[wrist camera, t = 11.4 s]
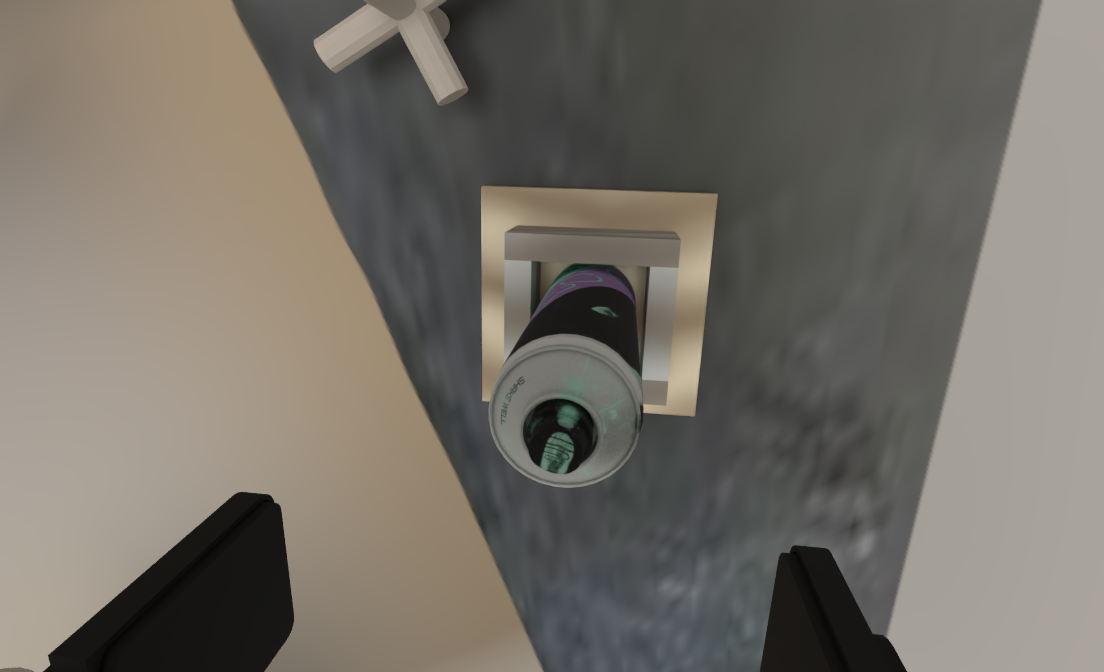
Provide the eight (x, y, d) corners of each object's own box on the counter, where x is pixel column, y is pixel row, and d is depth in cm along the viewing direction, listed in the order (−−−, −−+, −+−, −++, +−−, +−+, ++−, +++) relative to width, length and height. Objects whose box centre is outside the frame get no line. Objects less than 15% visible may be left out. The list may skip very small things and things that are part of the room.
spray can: (625, 250, 36) (625, 350, 17) (643, 335, 37) (663, 516, 18) (538, 270, 37) (445, 387, 18) (559, 352, 38) (494, 542, 19)
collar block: (485, 185, 37) (463, 188, 32) (714, 193, 36) (728, 198, 31) (486, 394, 41) (467, 426, 36) (692, 409, 40) (702, 444, 35)
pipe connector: (549, 62, 35) (519, 24, 25) (408, 146, 37) (332, 140, 27) (464, -111, 33) (398, -224, 23) (321, -11, 35) (208, -76, 26)
